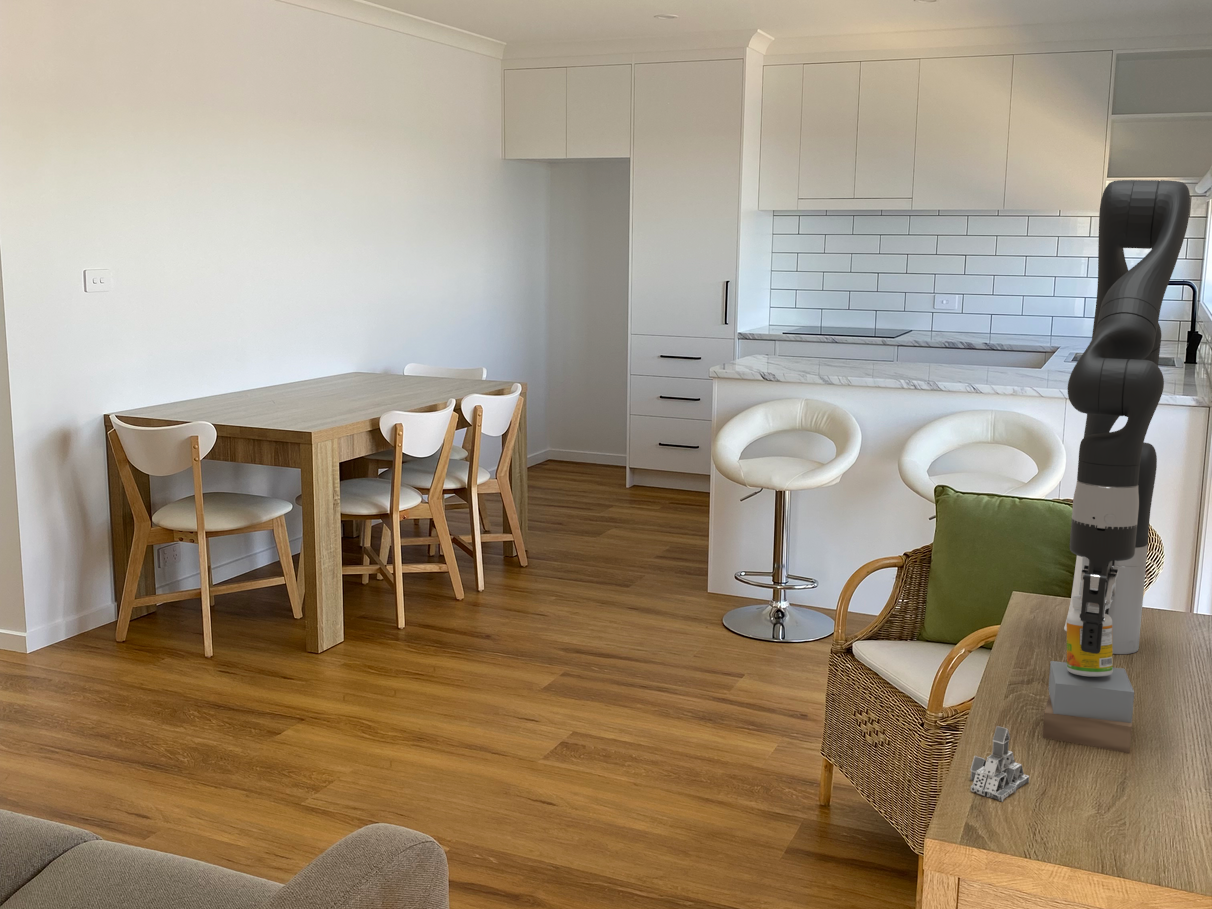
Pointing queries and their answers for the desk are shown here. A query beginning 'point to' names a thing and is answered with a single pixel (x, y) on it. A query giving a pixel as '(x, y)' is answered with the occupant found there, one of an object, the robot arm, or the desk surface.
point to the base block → (1087, 730)
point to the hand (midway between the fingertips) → (1094, 642)
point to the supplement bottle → (1087, 661)
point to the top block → (1091, 694)
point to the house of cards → (997, 770)
